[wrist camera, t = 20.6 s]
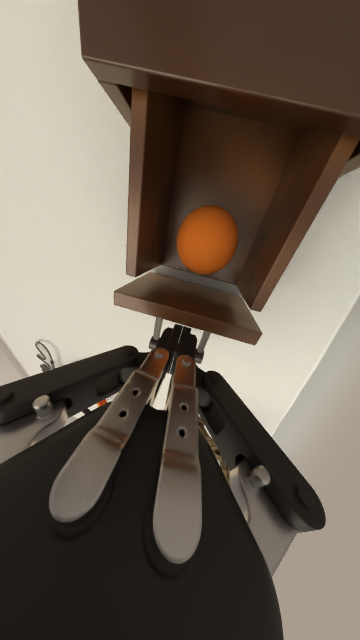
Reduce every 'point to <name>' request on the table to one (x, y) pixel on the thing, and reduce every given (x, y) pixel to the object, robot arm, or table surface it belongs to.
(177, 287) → the drawer
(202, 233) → the ball
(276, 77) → the cabinet
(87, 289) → the table surface
